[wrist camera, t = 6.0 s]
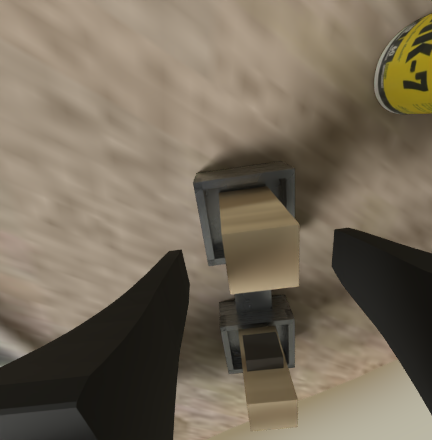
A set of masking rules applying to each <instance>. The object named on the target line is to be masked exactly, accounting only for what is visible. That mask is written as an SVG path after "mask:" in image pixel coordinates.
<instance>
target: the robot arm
mask: <svg viewBox="0 0 432 440" xmlns="http://www.w3.org/2000/svg"><path fill="white" fill-rule="evenodd" d="M332 268H333V270H334V271H335V273H336V275H337V277H338V278H339V280H340V282H341V283H342V285H343V286H344V287H345V289H346V290H347V291H348V293H349V294H350V295H351V296H352V298H353V299H354V300H355V301H356V303H357V304H358V305H359V306H360V308H361V309H362V310H363V311H364V313H365V314H366V315H367V316H368V318H369V319H370V320H371V321H372V323H373V324H374V325H375V326H376V328H377V329H378V330H379V332H380V333H381V334H382V336H383V337H384V338H385V340H386V342H387V343H388V345H389V346H390V348H391V349H392V351H393V352H394V354H395V355H396V357H397V358H398V360H399V361H400V363H401V364H402V366H403V368H404V369H405V371H406V373H407V374H408V376H409V377H410V379H411V381H412V382H413V384H414V386H415V387H416V389H417V390H418V392H419V394H420V396H421V397H422V399H423V401H424V402H425V404H426V406H427V408H428V409H429V411H430V413H431V415H432V253H429V252H425V251H422V250H418V249H415V248H411V247H408V246H405V245H402V244H399V243H396V242H393V241H390V240H387V239H384V238H381V237H378V236H374V235H371V234H368V233H365V232H362V231H359V230H355V229H351V228H343V229H335V230H334V243H333V256H332ZM189 288H190V283H189V279H188V275H187V270H186V266H185V262H184V258H183V253H182V250H175V251H169V252H168V253H167V254H166V255H165V256H164V257H163V258H162V259H161V260H160V261H159V262H158V263H157V264H156V265H155V266H154V267H153V268H152V269H151V270H150V271H149V272H148V273H147V274H146V275H145V276H144V277H143V278H141V279H140V280H139V281H138V282H137V283H136V284H135V285H134V286H133V287H132V288H130V289H129V290H128V291H127V292H126V293H125V294H123V295H122V296H121V297H120V298H118V299H117V300H116V301H114V302H113V303H112V304H110V305H109V306H108V307H106V308H105V309H104V310H102V311H101V312H99V313H98V314H96V315H95V316H93V317H92V318H90V319H89V320H87V321H85V322H84V323H82V324H81V325H79V326H78V327H76V328H74V329H73V330H71V331H69V332H68V333H66V334H64V335H62V336H61V337H59V338H57V339H55V340H53V341H52V342H50V343H48V344H46V345H44V346H42V347H41V348H39V349H37V350H35V351H33V352H31V353H29V354H27V355H25V356H23V357H21V358H19V359H17V360H15V361H13V362H11V363H9V364H6V365H4V366H2V367H0V440H173V430H174V413H175V399H176V385H177V374H178V362H179V354H180V348H181V342H182V337H183V332H184V326H185V321H186V315H187V310H188V304H189Z"/></svg>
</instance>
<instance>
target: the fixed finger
mask: <svg viewBox="0 0 432 440" xmlns="http://www.w3.org/2000/svg"><path fill="white" fill-rule="evenodd" d="M238 333H239V342H240V350H241V359H242V367H243V376H244V384H245V393H246V401H247V409H248V416H249V422H250V429H251V431H260V430H271V429H283V428H293V427H298V426H297V425H298V399H297V395H296V392H295V389H294V386H293V382H292V379H291V376H290V372H289V369H288V366H287V363H286V359H285V356H284V353H283V349H282V346H281V343H280V339H279V336H278V333H277V330H276V326H267V327H258V328H249V329H240V330H238Z"/></svg>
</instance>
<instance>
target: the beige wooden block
mask: <svg viewBox="0 0 432 440" xmlns="http://www.w3.org/2000/svg"><path fill="white" fill-rule="evenodd" d="M219 205H220V219H221V233H222V241H223V248H224V254H225V261H226V268H227V275H228V281H229V288H230V294H238V293H247V292H255V291H264V290H272V289H281V288H289V287H298V286H299V223H298V222H297V221H296V220H295V219H294V217H293V216H292V215H291V214H290V213H289V211H288V210H287V209H286V208H285V207H284V206H283V204H282V203H281V202H280V201H279V200H278V198H277V197H276V196H275V195H274V194H273V193H272V191H271V190H270V189H269V188H268V187H267V186H264V187H257V188H250V189H243V190H236V191H229V192H221V193H219Z"/></svg>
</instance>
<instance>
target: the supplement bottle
mask: <svg viewBox="0 0 432 440" xmlns="http://www.w3.org/2000/svg"><path fill="white" fill-rule="evenodd" d="M374 90H375V95H376V98H377V99H378V101H379V103H380V104H381V105H382V106H383V107H384V108H385V109H386V110H388V111H390V112H392V113H396V114H428V113H432V13H431V14H429V15H427V16H425V17H423V18H421V19H419V20H417V21H415V22H414V23H412V24H410V25H409V26H407V27H406V28H404V29H403V30H402V31H400V32H399V33H398V34H397V35H396V36H395V37H394V38H393V39H392V40H391V41H390V43H389V44H388V45H387V47H386V48H385V50H384V51H383V53H382V55H381V57H380V59H379V61H378V64H377V68H376V72H375V78H374Z"/></svg>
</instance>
